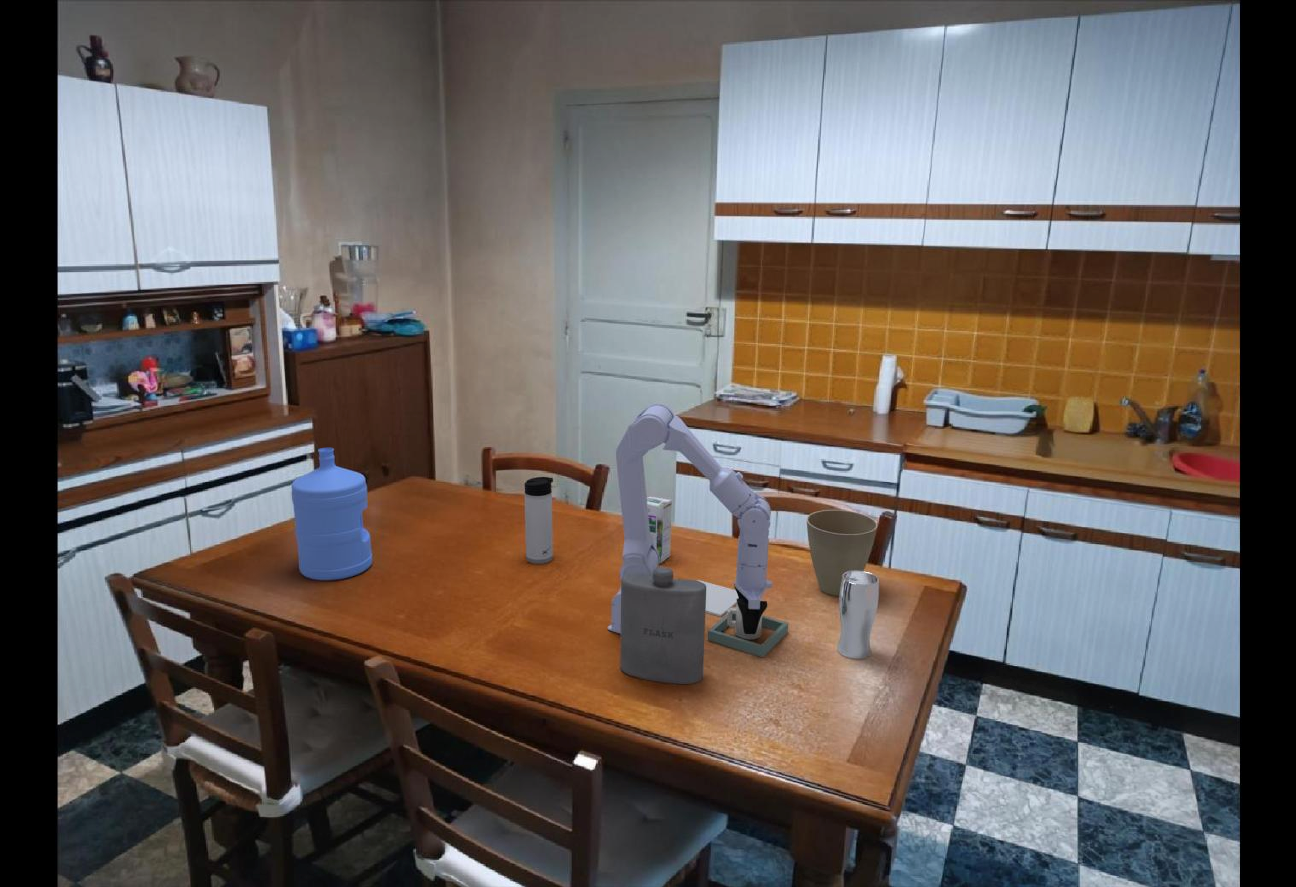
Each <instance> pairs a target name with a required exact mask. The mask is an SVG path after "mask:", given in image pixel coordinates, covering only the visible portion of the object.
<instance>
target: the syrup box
mask: <svg viewBox="0 0 1296 887" xmlns="http://www.w3.org/2000/svg"><path fill="white" fill-rule="evenodd" d="M672 503H673V502H672V499H667V498H661V497H655V496H649V497H648V496H647V507H648V517H649V528H650V534H651V536H652V537H653V542H654V546H655V548H656V550H657V551H658V553H659V556H660V562H659V565H660V564H661V563H663V562H664V561H665V560H667V559H668V558H669V557H670V556H671V536H672V535H671V534H672V531H671V530H672V507H673V506H672Z"/></svg>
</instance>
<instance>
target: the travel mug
mask: <svg viewBox="0 0 1296 887" xmlns="http://www.w3.org/2000/svg"><path fill="white" fill-rule="evenodd" d="M553 482H554V478H553V477H550V476H549V477H548V476H537V477H532V478H529V479H527V480H526V481H525V482H524V519H525V520H524V522H525V523H524V524H525V526H524V527H525V553H526V554H525V559H526V561H527V562H529V563H530V564H534V565H542V564H547V563H549V562H551V561H552V560H553V558H554V557H553V556H554V554H553V552H554V550H553V548H554V544H553V539H554V538H553V494H552V493H553V491H552V483H553Z"/></svg>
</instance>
